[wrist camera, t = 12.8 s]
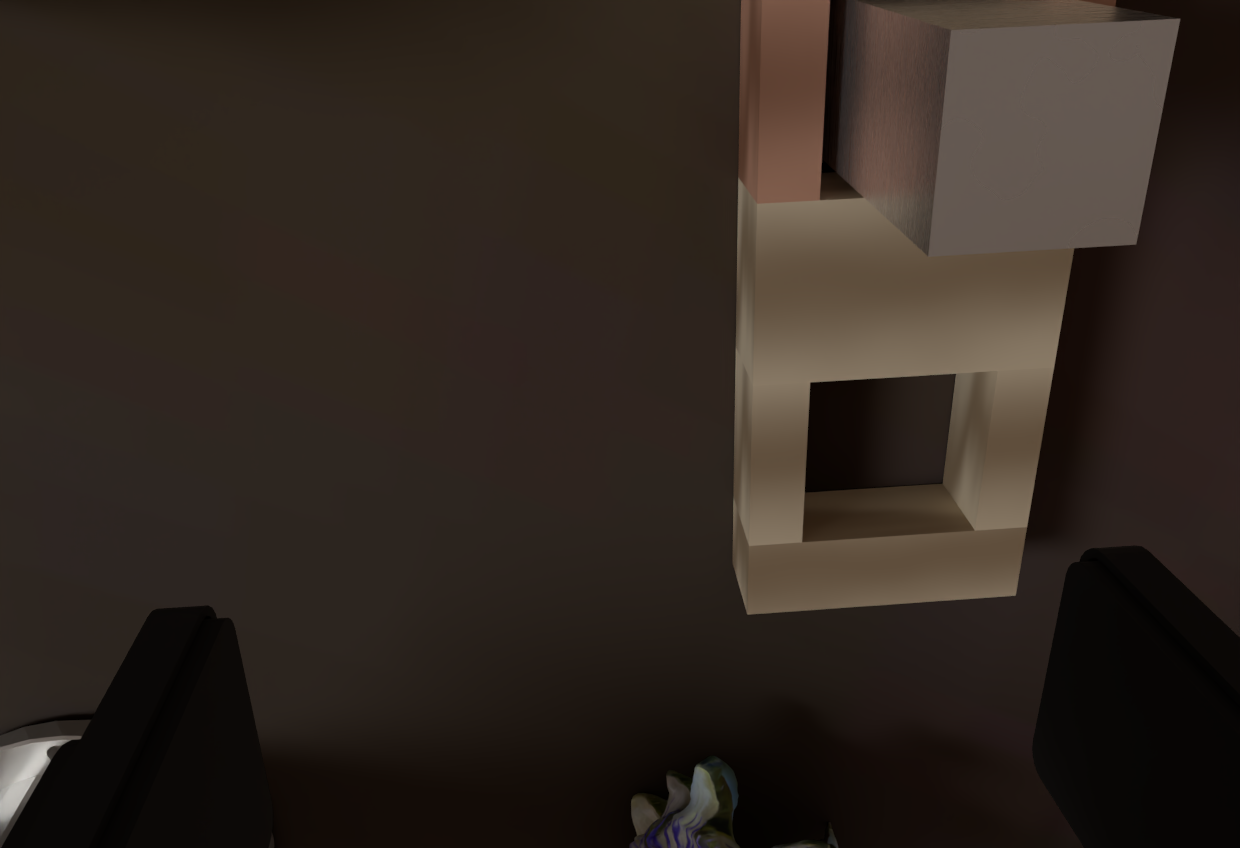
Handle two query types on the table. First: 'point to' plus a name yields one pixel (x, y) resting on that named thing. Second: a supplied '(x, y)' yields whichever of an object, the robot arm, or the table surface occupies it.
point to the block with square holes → (870, 360)
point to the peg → (997, 118)
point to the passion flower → (697, 812)
